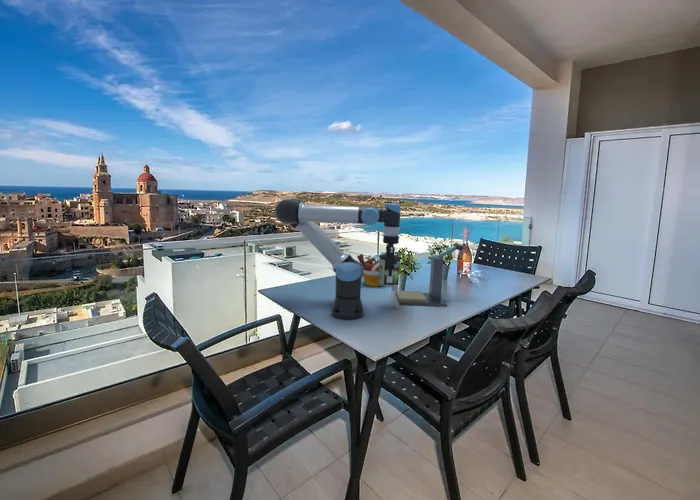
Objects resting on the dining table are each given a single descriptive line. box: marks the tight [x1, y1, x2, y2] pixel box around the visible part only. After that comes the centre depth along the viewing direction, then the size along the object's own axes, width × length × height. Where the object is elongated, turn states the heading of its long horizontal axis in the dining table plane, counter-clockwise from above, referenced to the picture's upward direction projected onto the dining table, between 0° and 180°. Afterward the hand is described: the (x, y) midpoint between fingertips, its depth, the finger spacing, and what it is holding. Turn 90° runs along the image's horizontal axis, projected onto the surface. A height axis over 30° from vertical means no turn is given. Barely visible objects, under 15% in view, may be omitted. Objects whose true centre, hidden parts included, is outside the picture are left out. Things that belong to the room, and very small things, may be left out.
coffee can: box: [378, 254, 401, 288], centre depth 158 cm, size 10×10×14 cm
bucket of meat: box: [356, 253, 382, 288], centre depth 199 cm, size 20×16×20 cm
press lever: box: [430, 242, 464, 259], centre depth 174 cm, size 18×8×4 cm, turn 87°
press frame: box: [395, 257, 448, 308], centre depth 171 cm, size 24×18×24 cm
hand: (388, 279), depth 159 cm, fingers closed on coffee can, 10 cm apart
